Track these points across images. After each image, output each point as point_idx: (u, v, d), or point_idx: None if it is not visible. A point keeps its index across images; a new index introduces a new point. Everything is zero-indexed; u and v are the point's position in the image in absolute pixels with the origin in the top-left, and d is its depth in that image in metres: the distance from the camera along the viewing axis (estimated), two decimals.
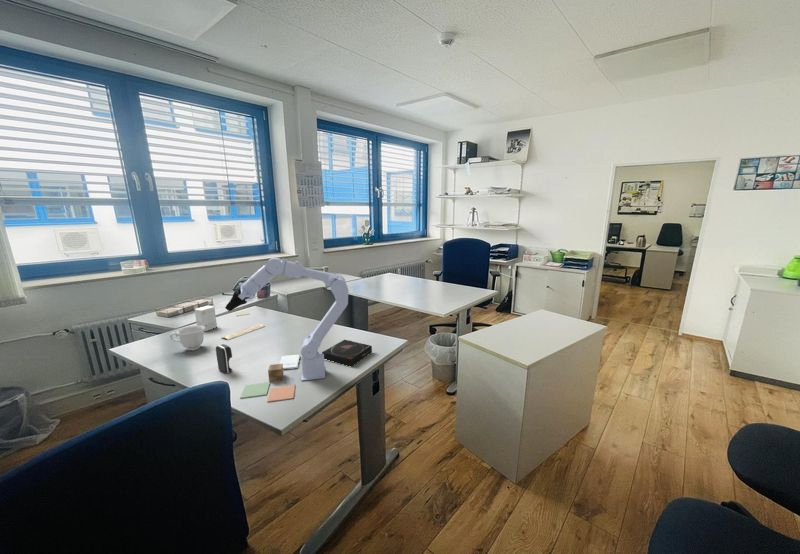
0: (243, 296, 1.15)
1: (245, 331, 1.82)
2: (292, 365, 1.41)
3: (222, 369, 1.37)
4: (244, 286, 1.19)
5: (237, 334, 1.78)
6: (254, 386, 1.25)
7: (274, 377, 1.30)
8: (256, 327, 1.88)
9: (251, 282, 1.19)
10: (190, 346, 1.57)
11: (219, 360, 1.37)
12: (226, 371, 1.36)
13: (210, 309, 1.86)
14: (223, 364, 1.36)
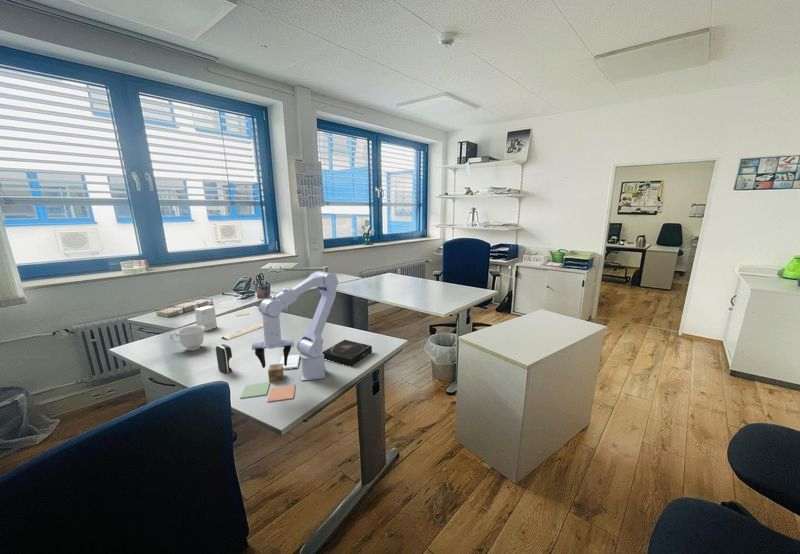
0: (293, 342, 1.21)
1: (245, 331, 1.82)
2: (293, 365, 1.41)
3: (222, 369, 1.37)
4: (278, 342, 1.17)
5: (237, 334, 1.78)
6: (254, 386, 1.25)
7: (274, 377, 1.30)
8: (256, 327, 1.88)
9: (279, 334, 1.17)
10: (190, 346, 1.57)
11: (219, 360, 1.37)
12: (226, 371, 1.36)
13: (210, 309, 1.86)
14: (223, 364, 1.36)
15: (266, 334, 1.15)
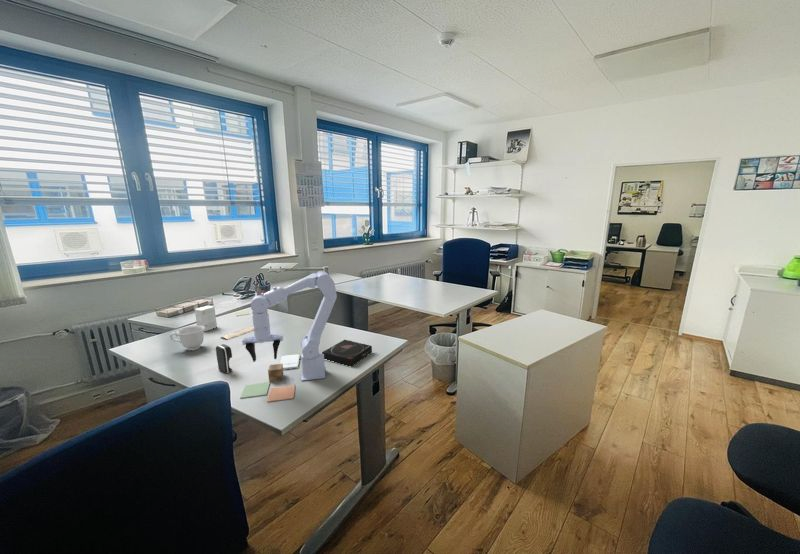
0: (282, 336, 1.26)
1: (244, 331, 1.82)
2: (293, 365, 1.41)
3: (222, 369, 1.37)
4: (267, 337, 1.23)
5: (236, 334, 1.78)
6: (254, 386, 1.25)
7: (274, 377, 1.30)
8: None
9: (268, 329, 1.23)
10: (190, 346, 1.57)
11: (219, 360, 1.37)
12: (226, 371, 1.36)
13: (210, 309, 1.86)
14: (223, 364, 1.36)
15: (256, 329, 1.21)
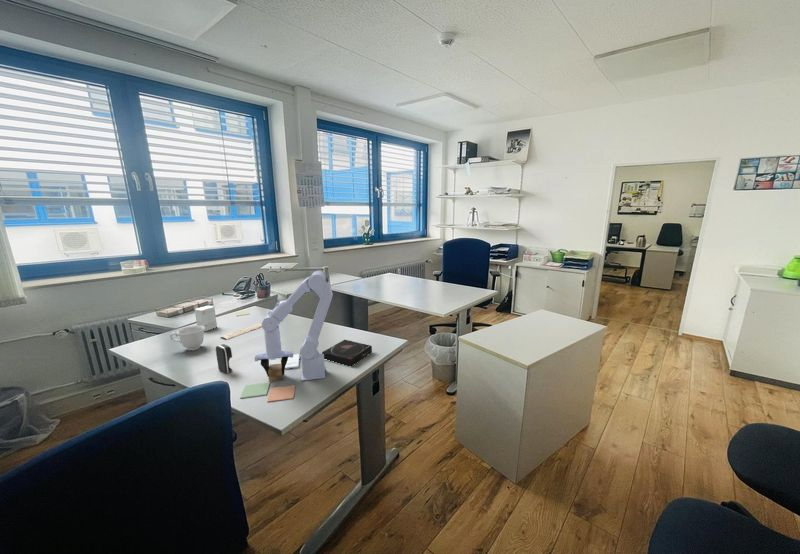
0: None
1: (244, 331, 1.82)
2: (293, 365, 1.41)
3: (222, 369, 1.37)
4: (279, 353, 1.29)
5: (236, 334, 1.78)
6: (254, 386, 1.25)
7: (274, 377, 1.30)
8: (255, 327, 1.88)
9: (279, 346, 1.29)
10: (190, 346, 1.57)
11: (219, 360, 1.37)
12: (226, 371, 1.36)
13: (210, 309, 1.86)
14: (223, 364, 1.36)
15: (268, 347, 1.27)
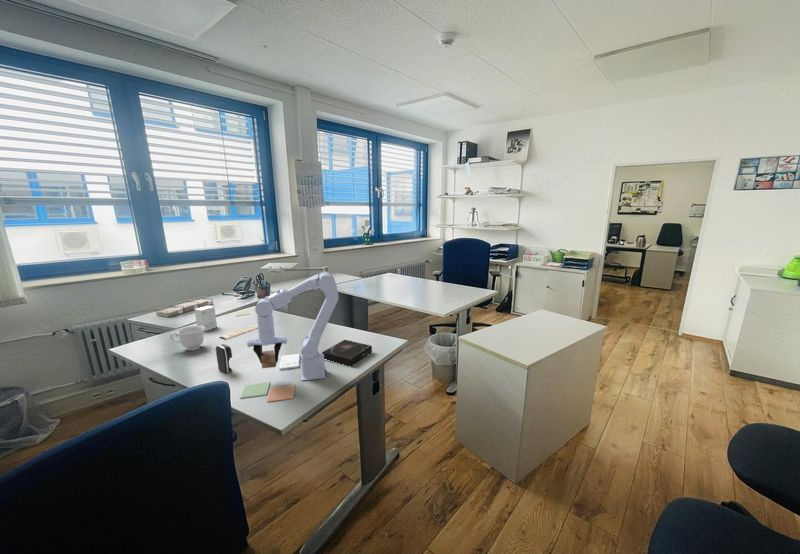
0: (286, 339, 1.29)
1: (243, 330, 1.83)
2: (294, 364, 1.41)
3: (222, 369, 1.37)
4: (272, 339, 1.25)
5: (235, 333, 1.78)
6: (254, 386, 1.25)
7: (267, 364, 1.26)
8: (254, 327, 1.89)
9: (272, 332, 1.25)
10: (190, 346, 1.57)
11: (219, 360, 1.37)
12: (226, 371, 1.36)
13: (210, 309, 1.86)
14: (223, 364, 1.36)
15: (260, 332, 1.23)
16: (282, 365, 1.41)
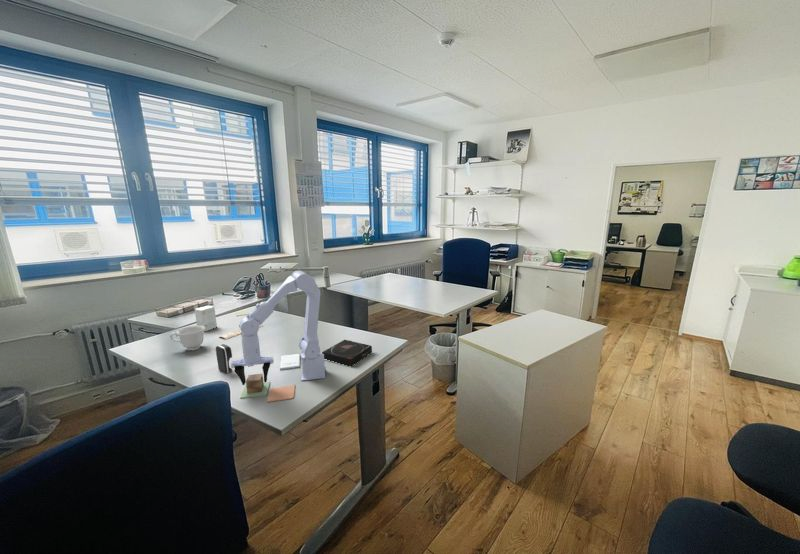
0: None
1: None
2: (294, 364, 1.42)
3: (222, 369, 1.37)
4: (257, 360, 1.19)
5: (235, 333, 1.79)
6: None
7: (252, 389, 1.20)
8: None
9: (258, 351, 1.19)
10: (190, 346, 1.57)
11: (219, 360, 1.37)
12: (226, 371, 1.36)
13: (210, 309, 1.86)
14: (223, 364, 1.36)
15: (245, 352, 1.17)
16: (282, 365, 1.41)
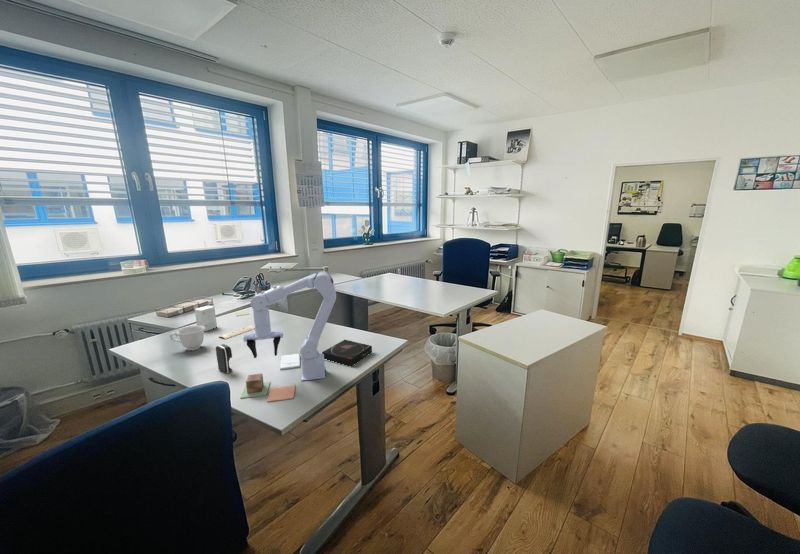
0: None
1: (242, 330, 1.83)
2: (295, 364, 1.42)
3: (222, 369, 1.37)
4: (268, 333, 1.26)
5: (234, 333, 1.79)
6: None
7: (252, 389, 1.20)
8: (254, 326, 1.89)
9: (269, 326, 1.26)
10: (190, 346, 1.57)
11: (219, 360, 1.37)
12: (226, 371, 1.36)
13: (210, 309, 1.86)
14: (223, 364, 1.36)
15: (257, 326, 1.24)
16: (283, 365, 1.41)
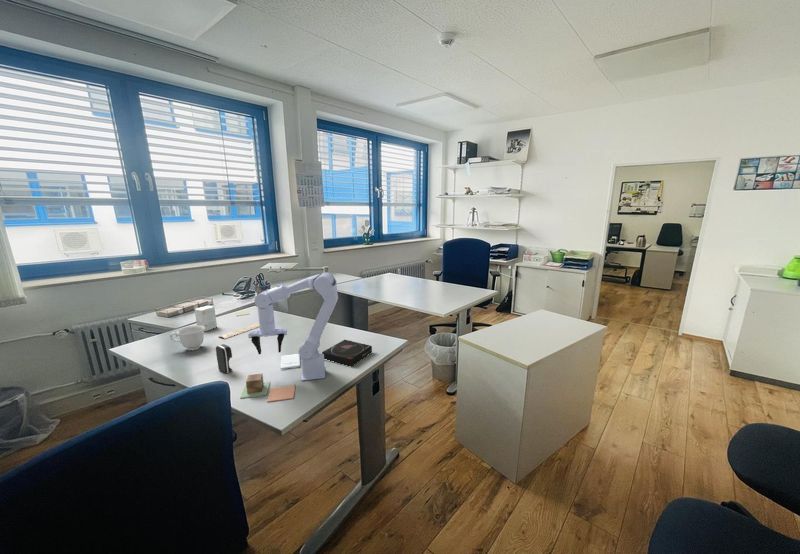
0: (286, 330, 1.32)
1: (242, 330, 1.83)
2: (295, 364, 1.42)
3: (222, 369, 1.37)
4: (272, 331, 1.29)
5: (234, 333, 1.79)
6: None
7: (252, 389, 1.20)
8: (253, 326, 1.89)
9: (273, 323, 1.29)
10: (190, 346, 1.57)
11: (219, 360, 1.37)
12: (226, 371, 1.36)
13: (210, 309, 1.86)
14: (223, 364, 1.36)
15: (261, 323, 1.27)
16: (283, 365, 1.41)
